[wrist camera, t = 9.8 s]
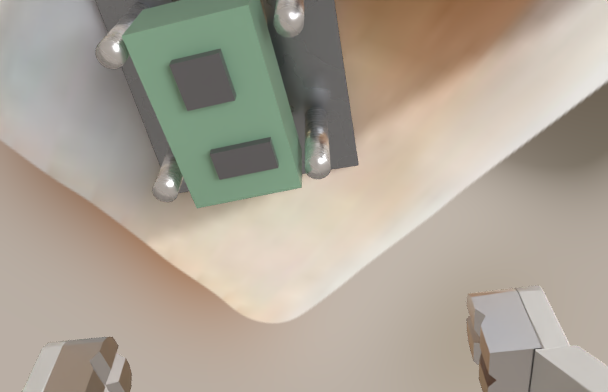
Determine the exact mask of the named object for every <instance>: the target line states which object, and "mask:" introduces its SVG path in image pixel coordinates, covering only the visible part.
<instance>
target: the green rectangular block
mask: <svg viewBox="0 0 608 392" xmlns="http://www.w3.org/2000/svg"><path fill="white" fill-rule="evenodd" d="M122 38H123V41H124V43H125V45H126V47H127V50H128V52H129V54H130V57H131V59H132V61H133V63H134V66H135V68H136V70H137V73H138V75H139V77H140V79H141V82H142V84H143V86H144V89H145V91H146V93H147V95H148V98H149V100H150V102H151V105H152V107H153V109H154V111H155V114H156V116H157V118H158V121H159V123H160V125H161V127H162V130H163V132H164V134H165V137H166V139H167V141H168V143H169V146H170V148H171V150H172V153H173V155H174V157H175V159H176V162H177V164H178V166H179V169H180V171H181V173H182V175H183V178H184V180H185V182H186V185H187V187H188V189H189V191H190V194H191V196H192V198H193V201H194V203H195V205H196V207H197V208H201V207H206V206H211V205H216V204H221V203H226V202H231V201H236V200H241V199H246V198H251V197H256V196H261V195H267V194H272V193H277V192H282V191H287V190H292V189H297V188H302V148H301V145H300V141H299V138H298V134H297V131H296V127H295V123H294V120H293V116H292V113H291V109H290V106H289V102H288V98H287V95H286V91H285V88H284V84H283V81H282V77H281V73H280V70H279V66H278V63H277V59H276V56H275V52H274V48H273V45H272V41H271V38H270V34H269V31H268V27H267V23H266V20H265V16H264V13H263V9H262V6H261V2H260V0H180V1H176V2H172V3H168V4H164V5H160V6H156V7H152V8H148V9H144V10H142V11H141V13H140V14H139V15H138V16H137V18H136V19H135V20H134V21H133V23H132V24H131V25H130V26H129V27H128V29H127V30H126V31H125V32H124V34H123V35H122Z"/></svg>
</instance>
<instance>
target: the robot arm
mask: <svg viewBox="0 0 608 392" xmlns="http://www.w3.org/2000/svg"><path fill="white" fill-rule="evenodd" d="M467 308H468V311H469V314H470V316H469V317H468V318H467V335H468V342H469V347H470V351H471V354H472V358H473V361H474V362H475V363H476V364H478V365H479V381H480V384H481V388H482V391H483V392H608V366H607V365H605V364H604V363H603V362H601V361H600V360H598V359H597V358H595V357H594V356H593V355H591V354H590V353H588V352H587V351H585V350H584V349H582V348H581V347H579V346H578V345H572V346H570V344H569V342H568V340H567V338H566V336H565V334H564V332H563V330H562V328H561V326H560V324H559V322H558V320H557V318H556V316H555V314H554V312H553V309H552V307H551V305H550V303H549V302H548V299H547V297H546V295H545V293H544V291H543V289H542V288H541V287H540V286H539V285H536V286H528V287H519V288H509V289H501V290H493V291H485V292H478V293H470V294H468V296H467ZM117 349H118V344H117V343H116V341H115V340H114V338H113V337H102V338H91V339H79V340H68V341H60V342H50V343H47V344H46V345H45V346H44V347H43V348H42V350H41V352H40V354H39V356H38V358H37V360H36V362H35V365H34V367H33V369H32V371H31V373H30V375H29V377H28V380H27V382H26V384H25V386H24V388H23V390H22V392H130V389H131V380H132V377H131V376H132V373H131V369H130V365H129V363H128V361H127V359H126V358H125V357H123V356H121V355H120V354H118V353H117Z"/></svg>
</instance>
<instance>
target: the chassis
mask: <svg viewBox="0 0 608 392" xmlns="http://www.w3.org/2000/svg"><path fill="white" fill-rule="evenodd" d="M176 1H180V0H96V3H97V5H98V8H99V11H100V13H101V16H102V18H103V21H104V23H105V26H106V28H107V31H108V34H107V35H106V36H105V37H104V38H103V40H102V41H101V42H100V43H99V44H98V45H97V47H96V57H97V59H98V61H99V62H100V63H101V64H102V65H103V66H104V67H106V68H109V69H118V68H120V67H122V69H123V72H124V74H125V77H126V79H127V82H128V85H129V87H130V90H131V92H132V95H133V97H134V100H135V102H136V105H137V108H138V110H139V113H140V115H141V118H142V120H143V123H144V125H145V128H146V130H147V133H148V136H149V138H150V141H151V143H152V146H153V148H154V151H155V153H156V156H157V159H158V161H159V164H160V166H161V168H160V171H159V173H158V176H157V178H156V181H155V183H154V186H153V189H152V191H153V194H154V196H155V197H156V198H157V199H158V200H160V201H163V202H171V201H173V200H175V199H176V198H177V195H178V193H181V192H187V191H189V189H188V187H187V185H186V182H185V180H184V178H183V175H182V173H181V171H180V169H179V166H178V164H177V162H176V159H175V157H174V155H173V153H172V150H171V148H170V146H169V143H168V141H167V139H166V137H165V134H164V132H163V130H162V127H161V125H160V123H159V121H158V118H157V116H156V114H155V111H154V109H153V107H152V105H151V102H150V100H149V98H148V95H147V93H146V91H145V89H144V86H143V84H142V82H141V79H140V77H139V75H138V73H137V70H136V68H135V66H134V63H133V61H132V59H131V57H130V54H129V52H128V50H127V47H126V45H125V43H124V41H123V38H122V35H123V34H124V32H125V31H126V30H127V29H128V27H129V26H130V25H131V24H132V23H133V21H134V20H135V19H136V18H137V16H138V15H139V14H140V13H141V11H142V10H144V9H148V8H152V7H156V6H160V5H164V4H168V3H172V2H176ZM260 2H261V6H262V9H263V13H264V16H265V20H266V23H267V27H268V31H269V34H270V38H271V41H272V45H273V48H274V52H275V56H276V59H277V63H278V66H279V70H280V73H281V77H282V81H283V84H284V88H285V91H286V95H287V98H288V102H289V106H290V109H291V113H292V116H293V120H294V123H295V127H296V131H297V134H298V138H299V141H300V145H301V148H302V174H305V173H306V174H307V175H308V176H309V177H311V178H313V179H322V178H324V177H326V176H327V175H328V174H329V173H330V170H331V169H337V168H344V167H350V166H357V165H358V158H357V151H356V145H355V138H354V131H353V124H352V118H351V111H350V104H349V97H348V91H347V84H346V77H345V70H344V64H343V57H342V50H341V43H340V37H339V30H338V23H337V16H336V10H335V3H334V0H260Z"/></svg>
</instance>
